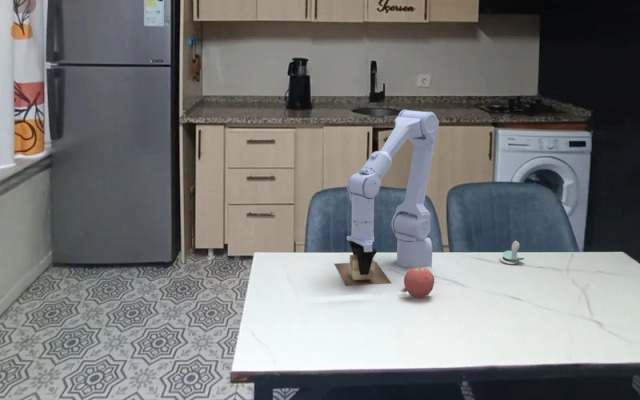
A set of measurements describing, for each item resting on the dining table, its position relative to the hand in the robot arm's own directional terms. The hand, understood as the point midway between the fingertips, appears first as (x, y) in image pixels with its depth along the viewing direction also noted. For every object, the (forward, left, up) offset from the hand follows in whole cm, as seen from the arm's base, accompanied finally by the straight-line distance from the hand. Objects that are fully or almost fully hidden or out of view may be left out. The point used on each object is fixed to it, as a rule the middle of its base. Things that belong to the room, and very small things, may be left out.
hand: (361, 270), depth 176 cm
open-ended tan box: (0, 0, -1) cm, 1 cm away
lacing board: (-1, -5, -4) cm, 6 cm away
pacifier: (-47, -13, -4) cm, 49 cm away
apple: (-12, +10, -4) cm, 16 cm away
